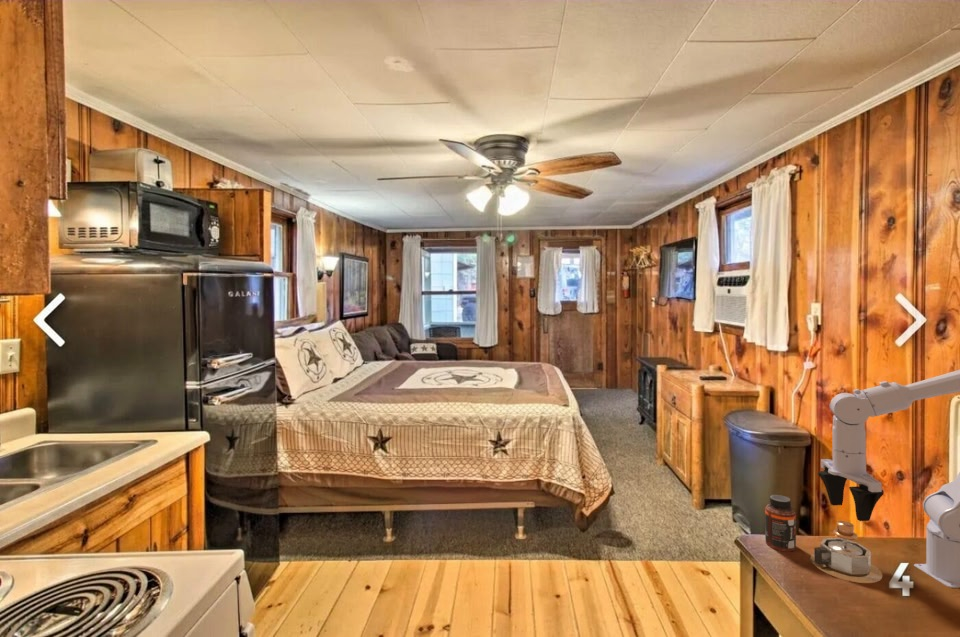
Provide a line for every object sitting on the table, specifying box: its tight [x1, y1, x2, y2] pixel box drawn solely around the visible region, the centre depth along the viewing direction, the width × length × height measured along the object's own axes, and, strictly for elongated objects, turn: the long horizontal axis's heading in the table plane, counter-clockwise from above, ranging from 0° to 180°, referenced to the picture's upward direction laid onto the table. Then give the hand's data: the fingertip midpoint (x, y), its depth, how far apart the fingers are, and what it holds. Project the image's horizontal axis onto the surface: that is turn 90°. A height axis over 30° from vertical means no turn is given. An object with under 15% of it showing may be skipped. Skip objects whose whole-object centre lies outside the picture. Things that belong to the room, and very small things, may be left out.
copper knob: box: [828, 520, 863, 556], centre depth 101 cm, size 6×6×6 cm
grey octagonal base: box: [809, 537, 883, 584], centre depth 101 cm, size 12×12×4 cm
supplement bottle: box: [764, 494, 797, 553], centre depth 110 cm, size 6×6×11 cm
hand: (849, 512), depth 104 cm, fingers open, 7 cm apart
